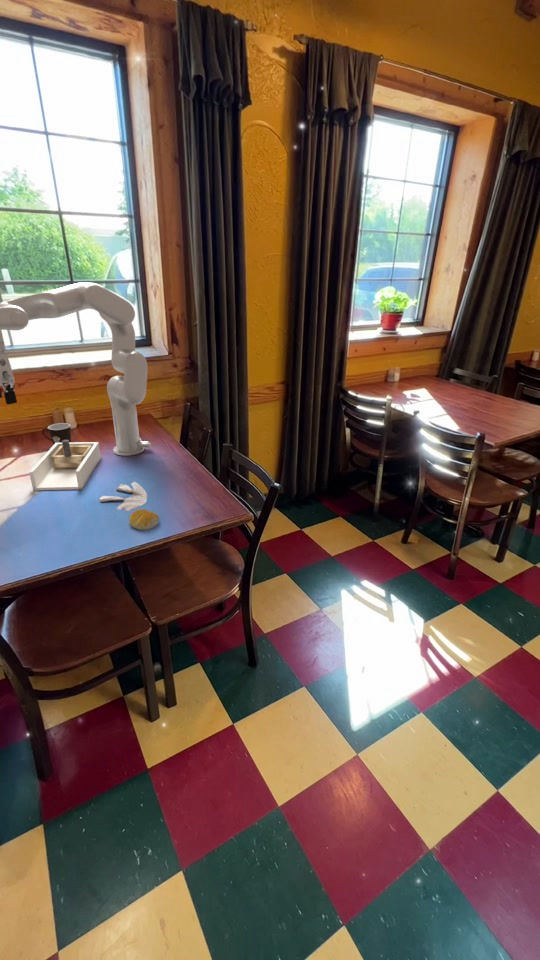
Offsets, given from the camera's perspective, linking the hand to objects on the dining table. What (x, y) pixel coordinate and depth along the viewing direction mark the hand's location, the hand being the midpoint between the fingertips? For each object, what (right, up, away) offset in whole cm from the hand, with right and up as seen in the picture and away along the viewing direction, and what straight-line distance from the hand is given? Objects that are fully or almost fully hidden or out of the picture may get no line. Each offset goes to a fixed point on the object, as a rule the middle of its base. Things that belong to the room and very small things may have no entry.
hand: (4, 400), depth 147 cm
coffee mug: (-1, -13, +42) cm, 44 cm away
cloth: (+38, -32, +6) cm, 50 cm away
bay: (+13, -24, +20) cm, 34 cm away
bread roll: (+50, -40, -10) cm, 65 cm away
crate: (+12, -20, +25) cm, 34 cm away
